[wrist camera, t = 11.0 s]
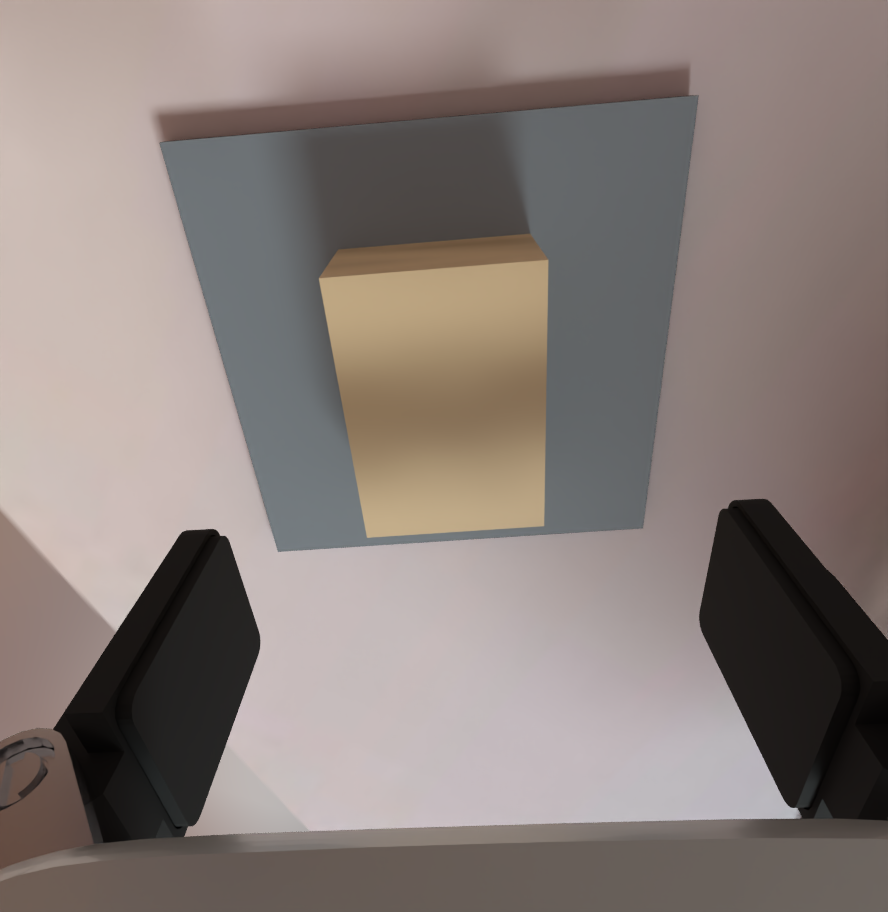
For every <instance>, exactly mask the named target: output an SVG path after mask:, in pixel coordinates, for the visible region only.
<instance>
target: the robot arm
mask: <svg viewBox="0 0 888 912" xmlns="http://www.w3.org/2000/svg"><path fill="white" fill-rule="evenodd" d="M699 621H700V627H701V630H702V633H703V635H704V637H705V639H706V641H707V643H708V646H709V648H710V650H711V652H712V654H713V656H714V658H715V660H716V662H717V664H718V666H719V668H720V670H721V672H722V674H723V676H724V678H725V680H726V682H727V685H728V687H729V689H730V691H731V693H732V695H733V697H734V699H735V701H736V703H737V705H738V707H739V709H740V711H741V713H742V715H743V717H744V719H745V721H746V723H747V726H748V728H749V730H750V732H751V734H752V736H753V738H754V740H755V742H756V744H757V746H758V748H759V750H760V752H761V754H762V756H763V758H764V760H765V762H766V764H767V767H768V769H769V771H770V773H771V775H772V777H773V779H774V781H775V783H776V785H777V787H778V789H779V791H780V793H781V795H782V797H783V799H784V801H785V802H786V803H787V804H788V806H790V807H791V808H798V810H799V812H800V814H801V816H802V818H803V819H724V820H683V821H642V822H601V823H562V824H528V825H493V826H460V827H427V828H395V829H365V830H337V831H309V832H283V833H252V834H229V835H211V836H193V837H192V836H191V837H184V836H185V833H186V830H187V827H188V826H193V825H195V824H196V823H197V821H198V819H199V817H200V815H201V812H202V809H203V807H204V804H205V801H206V798H207V796H208V793H209V790H210V787H211V785H212V782H213V779H214V776H215V773H216V771H217V768H218V765H219V762H220V760H221V757H222V754H223V751H224V748H225V745H226V743H227V740H228V737H229V735H230V732H231V729H232V726H233V723H234V721H235V718H236V715H237V712H238V709H239V707H240V704H241V701H242V698H243V696H244V693H245V690H246V687H247V684H248V682H249V679H250V676H251V673H252V671H253V668H254V665H255V662H256V659H257V657H258V654H259V650H260V634H259V631H258V628H257V625H256V622H255V618H254V615H253V612H252V609H251V606H250V603H249V600H248V597H247V594H246V591H245V588H244V585H243V582H242V579H241V576H240V573H239V570H238V567H237V564H236V561H235V558H234V554H233V551H232V548H231V545H230V542H229V540H228V538H227V537H226V536H220V535H219V533H218V532H217V531H216V530H214V529H206V530H187V531H184V532H182V533H181V534H180V536H179V537H178V539H177V540H176V542H175V543H174V545H173V546H172V548H171V549H170V551H169V552H168V554H167V556H166V557H165V559H164V560H163V562H162V563H161V565H160V566H159V568H158V569H157V571H156V572H155V574H154V576H153V577H152V579H151V580H150V582H149V583H148V585H147V586H146V588H145V589H144V591H143V592H142V594H141V595H140V597H139V599H138V600H137V602H136V603H135V605H134V606H133V608H132V609H131V611H130V612H129V614H128V615H127V617H126V618H125V620H124V621H123V623H122V624H121V626H120V627H119V629H118V631H117V632H116V634H115V635H114V637H113V638H112V640H111V641H110V643H109V644H108V646H107V647H106V649H105V651H104V652H103V654H102V655H101V657H100V658H99V660H98V661H97V663H96V664H95V666H94V668H93V669H92V671H91V672H90V674H89V675H88V677H87V678H86V680H85V681H84V683H83V684H82V686H81V687H80V689H79V691H78V692H77V694H76V695H75V697H74V698H73V700H72V701H71V703H70V704H69V706H68V707H67V709H66V710H65V712H64V714H63V715H62V717H61V718H60V720H59V721H58V723H57V724H56V726H55V727H54V729H47V728H46V729H45V728H36V729H31V730H27V731H22V732H20V733H17V734H15V735H13V736H10V737H8V738H6V739H4V740H2V741H1V742H0V912H888V640H887V639H886V637H885V636H884V635H883V634H882V633H881V631H880V630H879V629H878V628H877V627H876V625H875V624H874V623H873V622H872V621H871V619H870V618H869V617H868V616H867V615H866V613H865V612H864V611H863V610H862V609H861V607H860V606H859V605H858V604H857V603H856V601H855V600H854V599H853V598H852V597H851V596H850V594H849V593H848V592H847V591H846V590H845V588H844V587H843V586H842V585H841V584H840V582H839V581H838V580H837V579H836V578H835V576H833V575H832V574H831V573H830V572H829V571H828V570H826V568H825V567H824V566H823V565H822V564H821V562H820V561H819V560H818V559H817V558H816V556H815V555H814V554H813V553H812V552H811V550H810V549H809V548H808V547H807V546H806V544H805V543H804V542H803V541H802V539H801V538H800V537H799V536H798V535H797V533H796V532H795V531H794V530H793V529H792V527H791V526H790V525H789V524H788V523H787V521H786V520H785V519H784V518H783V517H782V515H781V514H780V513H779V512H778V511H777V509H776V508H775V507H774V506H773V505H772V503H771V502H769V501H768V500H766V499H751V500H734V501H732V502H731V503H730V504H729V507H728V509H722V510H721V511H720V513H719V517H718V522H717V527H716V532H715V537H714V542H713V547H712V552H711V557H710V562H709V567H708V573H707V578H706V583H705V588H704V593H703V598H702V603H701V608H700V614H699Z"/></svg>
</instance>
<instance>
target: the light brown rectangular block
mask: <svg viewBox="0 0 888 912" xmlns="http://www.w3.org/2000/svg"><path fill="white" fill-rule="evenodd" d="M319 282H320V288H321V293H322V298H323V304H324V309H325V314H326V320H327V325H328V331H329V336H330V341H331V347H332V352H333V357H334V363H335V368H336V374H337V379H338V384H339V390H340V395H341V401H342V406H343V411H344V417H345V422H346V427H347V433H348V438H349V444H350V449H351V454H352V460H353V465H354V470H355V476H356V481H357V487H358V492H359V497H360V503H361V508H362V514H363V519H364V524H365V530H366V535H367V538H372V537H387V536H402V535H418V534H433V533H448V532H463V531H478V530H494V529H509V528H524V527H539V526H544V505H545V442H546V379H547V316H548V259H547V257H546V256H545V254H544V253H543V251H542V250H541V249H540V247H539V246H538V244H537V243H536V241H535V240H534V239H533V237H532V236H531V234H521V235H509V236H497V237H485V238H472V239H460V240H448V241H436V242H424V243H411V244H399V245H387V246H375V247H363V248H350V249H338V251H337V252H336V254H335V255H334V257H333V258H332V259H331V261H330V262H329V264H328V265H327V267H326V268H325V270H324V271H323V273H322V274H321V276H320V277H319Z"/></svg>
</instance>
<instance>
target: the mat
mask: <svg viewBox="0 0 888 912" xmlns="http://www.w3.org/2000/svg"><path fill="white" fill-rule="evenodd" d="M698 96H699V95H695V96H680V97H669V98H657V99H646V100H634V101H623V102H611V103H600V104H589V105H577V106H566V107H554V108H543V109H531V110H520V111H509V112H497V113H486V114H474V115H463V116H451V117H440V118H429V119H417V120H406V121H394V122H383V123H371V124H360V125H348V126H337V127H326V128H314V129H303V130H291V131H280V132H268V133H257V134H246V135H234V136H223V137H211V138H200V139H188V140H177V141H167V142H160V147H161V150H162V154H163V157H164V161H165V164H166V167H167V171H168V174H169V178H170V181H171V185H172V188H173V192H174V195H175V198H176V202H177V205H178V209H179V212H180V216H181V219H182V223H183V226H184V229H185V233H186V236H187V240H188V243H189V247H190V250H191V254H192V257H193V260H194V264H195V267H196V271H197V274H198V278H199V281H200V285H201V288H202V291H203V295H204V298H205V302H206V305H207V309H208V312H209V316H210V319H211V322H212V326H213V329H214V333H215V336H216V340H217V343H218V347H219V350H220V353H221V357H222V360H223V364H224V367H225V371H226V374H227V378H228V381H229V384H230V388H231V391H232V395H233V398H234V402H235V405H236V409H237V412H238V415H239V419H240V422H241V426H242V429H243V433H244V436H245V440H246V443H247V446H248V450H249V453H250V457H251V460H252V464H253V467H254V471H255V474H256V477H257V481H258V484H259V488H260V491H261V495H262V498H263V502H264V505H265V508H266V512H267V515H268V519H269V522H270V526H271V529H272V533H273V536H274V539H275V543H276V546H277V550H278V552H282V551H297V550H313V549H328V548H344V547H360V546H375V545H391V544H406V543H422V542H437V541H453V540H468V539H484V538H499V537H515V536H530V535H546V534H561V533H577V532H593V531H608V530H624V529H639V528H643V523H644V515H645V508H646V500H647V492H648V484H649V477H650V469H651V461H652V453H653V445H654V438H655V430H656V422H657V414H658V407H659V399H660V391H661V383H662V376H663V368H664V360H665V352H666V344H667V337H668V329H669V321H670V313H671V306H672V298H673V290H674V282H675V275H676V267H677V259H678V251H679V243H680V236H681V228H682V220H683V212H684V205H685V197H686V189H687V181H688V174H689V166H690V158H691V150H692V143H693V135H694V127H695V119H696V111H697V104H698ZM521 234H531V236H532V237H533V239H534V240H535V241H536V243H537V244H538V246H539V247H540V249H541V250H542V251H543V253H544V254H545V256H546V257H547V259H548V316H547V379H546V442H545V505H544V526H539V527H524V528H509V529H494V530H478V531H463V532H448V533H433V534H418V535H402V536H387V537H372V538H367V535H366V530H365V524H364V519H363V514H362V508H361V503H360V497H359V492H358V487H357V481H356V476H355V470H354V465H353V460H352V454H351V449H350V444H349V438H348V433H347V427H346V422H345V417H344V411H343V406H342V401H341V395H340V390H339V384H338V379H337V374H336V368H335V363H334V357H333V352H332V347H331V341H330V336H329V331H328V325H327V320H326V314H325V309H324V304H323V298H322V293H321V288H320V282H319V277H320V276H321V274H322V273H323V271H324V270H325V268H326V267H327V265H328V264H329V262H330V261H331V259H332V258H333V257H334V255H335V254H336V252H337V251H338V249H350V248H363V247H375V246H387V245H399V244H411V243H424V242H436V241H448V240H460V239H472V238H485V237H497V236H509V235H521Z"/></svg>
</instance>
